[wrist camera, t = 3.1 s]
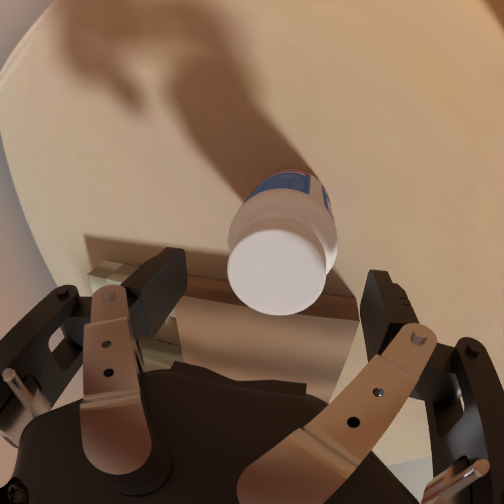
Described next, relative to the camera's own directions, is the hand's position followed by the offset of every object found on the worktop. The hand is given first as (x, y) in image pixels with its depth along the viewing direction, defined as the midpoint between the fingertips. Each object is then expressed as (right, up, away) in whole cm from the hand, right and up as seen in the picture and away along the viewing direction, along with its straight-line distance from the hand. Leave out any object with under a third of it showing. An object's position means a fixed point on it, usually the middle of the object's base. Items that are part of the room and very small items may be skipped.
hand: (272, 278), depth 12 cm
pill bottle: (+2, +4, +8) cm, 9 cm away
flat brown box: (-4, -7, +15) cm, 16 cm away
